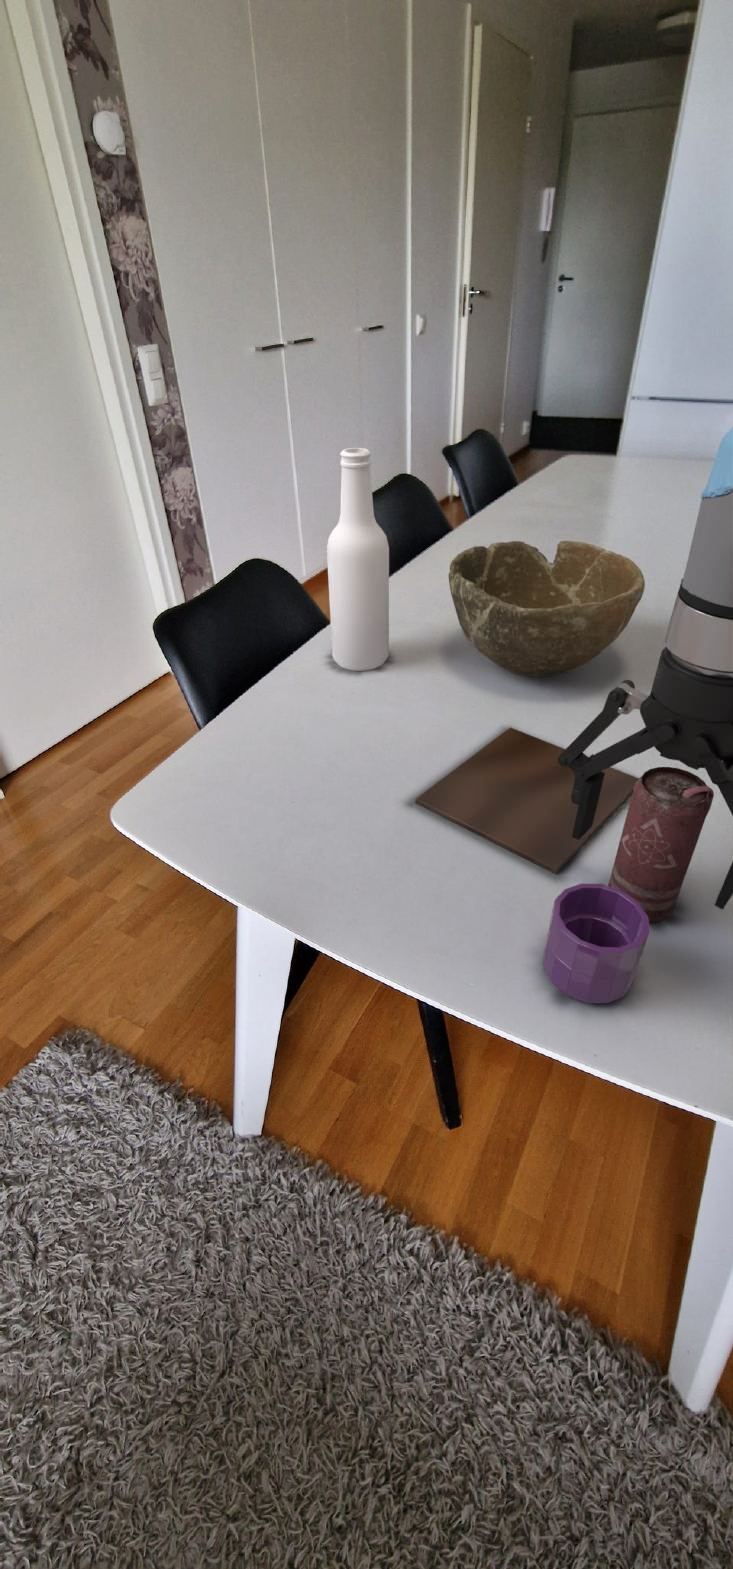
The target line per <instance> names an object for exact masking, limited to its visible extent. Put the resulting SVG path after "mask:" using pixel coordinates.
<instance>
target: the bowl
mask: <svg viewBox="0 0 733 1569" xmlns="http://www.w3.org/2000/svg"><path fill="white" fill-rule="evenodd" d="M556 546H557V547H556V553H555V557H554V559H553V562H550V561H548V558H547V557H546V555H545V554H543V552H541V551H540V550H539V548H537V547H535V546H532V545H531V544H529V543H525V541H521V540H520V541H519V540H513V541H506V542H505V541H501V542H493V543H491V544H490V545H489V546H488V547H486V546H484V545H477V546H472V547H470V548H467V549H465V550H463V551H461V552H460V553H458V554H456V555H455V557H454V558H453V559H452V560H451V561H450V565H449V571H448V572H449V573H448V576H447V577H448V584H449V591H450V595H451V598H452V603H453V606H454V610H455V613H456V616H457V620H458V624H459V626H460V628H461V631H462V632H463V635H464V637H465V638H466V640H467V641H469V642H470V643H471V645H473V646H474V648H475V649H477V651H478V652H480V653H481V654H482V655H484V656H485V657H486V658H488V659H489V660H490V661H491V662H493V663H494V664H496V665H497V666H499V667H500V668H502V669H504V670H506V671H508V672H511V673H513V674H517V675H518V676H519V675H520V676H526V677H535V678H537V677H538V678H540V677H552V676H555V675H560V674H564V673H565V674H566V673H567V672H570V671H572V670H576V669H577V668H579V667H583V666H585V665H587V664H589V663H590V662H592V661H593V660H594V659H596V658H597V657H598V656H599V655H601V654H602V653H603V651H604V650H605V649H607V648H608V647H609V646H610V645H611V644H612V643H613V642H614V641H615V640H616V639H617V638H618V637H619V636H620V635H621V634H622V633H623V632H624V630H625V629H626V628H627V627H628V624H629V622H630V621H631V618H632V617H633V615H634V613H635V610H636V608H637V606H638V604H640V602H641V600H642V598H643V595H644V592H645V588H646V581H645V577H644V574H643V572H642V570H641V568H639V566H638V565H637V564H636V563H635V561H633V560H632V559H630V558H629V557H627V556H624V555H622V554H619V553H616V552H614V551H612V550H607V549H605V548H603V547H600V546H597V545H594V544H591V543H586V542H582V541H575V540H561V541H559V542H558V543H557V545H556Z"/></svg>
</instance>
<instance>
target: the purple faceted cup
mask: <svg viewBox="0 0 733 1569" xmlns="http://www.w3.org/2000/svg"><path fill="white" fill-rule="evenodd" d="M649 934H650V922H649V918H648V916H647V914H646V913H645V911H644V910H643V908H642V907H641V905H640V904H639V903H638V902H637V901H636V900H635V899H633V898H632V897H630V896H629V895H627V894H626V893H625V892H623V891H621V890H619V889H616V888H613V887H609V886H608V885H606V884H603V883H579V884H576V885H573V886H570V887H567V888H565V889H563V890H562V892H561V893H560V894H559V895H558V896H557V897H556V898H555V900H554V901H553V907H552V911H551V916H550V922H549V927H548V931H547V935H546V936H547V937H546V941H545V947H544V952H543V959H542V960H543V962H542V966H543V968H544V970H545V972H546V974H547V976H548V979H549V981H550V982H551V983H552V984H553V985H554V986H555V987H557V989H559V991H561V992H563V994H565V995H566V996H568V997H572V998H573V999H576V1000H578V1001H581V1002H584V1003H587V1004H607V1003H610V1002H613V1001H615V1000H618V999H620V998H622V997H624V996H625V995H626V994H627V992H628V991H629V989H630V988H631V986H632V985H633V983H634V980H635V978H636V974H637V971H638V968H639V964H640V962H641V959H642V956H643V953H644V950H645V947H646V944H647V942H648V938H649Z"/></svg>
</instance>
